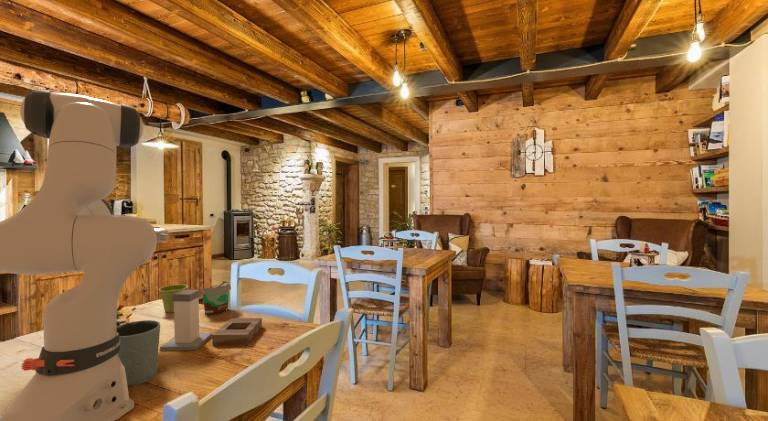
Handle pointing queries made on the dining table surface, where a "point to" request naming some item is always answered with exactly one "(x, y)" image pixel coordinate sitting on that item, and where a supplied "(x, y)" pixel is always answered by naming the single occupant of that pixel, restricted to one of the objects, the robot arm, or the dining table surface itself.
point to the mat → (186, 346)
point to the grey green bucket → (139, 350)
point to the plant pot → (170, 296)
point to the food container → (216, 298)
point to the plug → (186, 315)
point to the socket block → (237, 331)
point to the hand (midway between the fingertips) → (153, 239)
